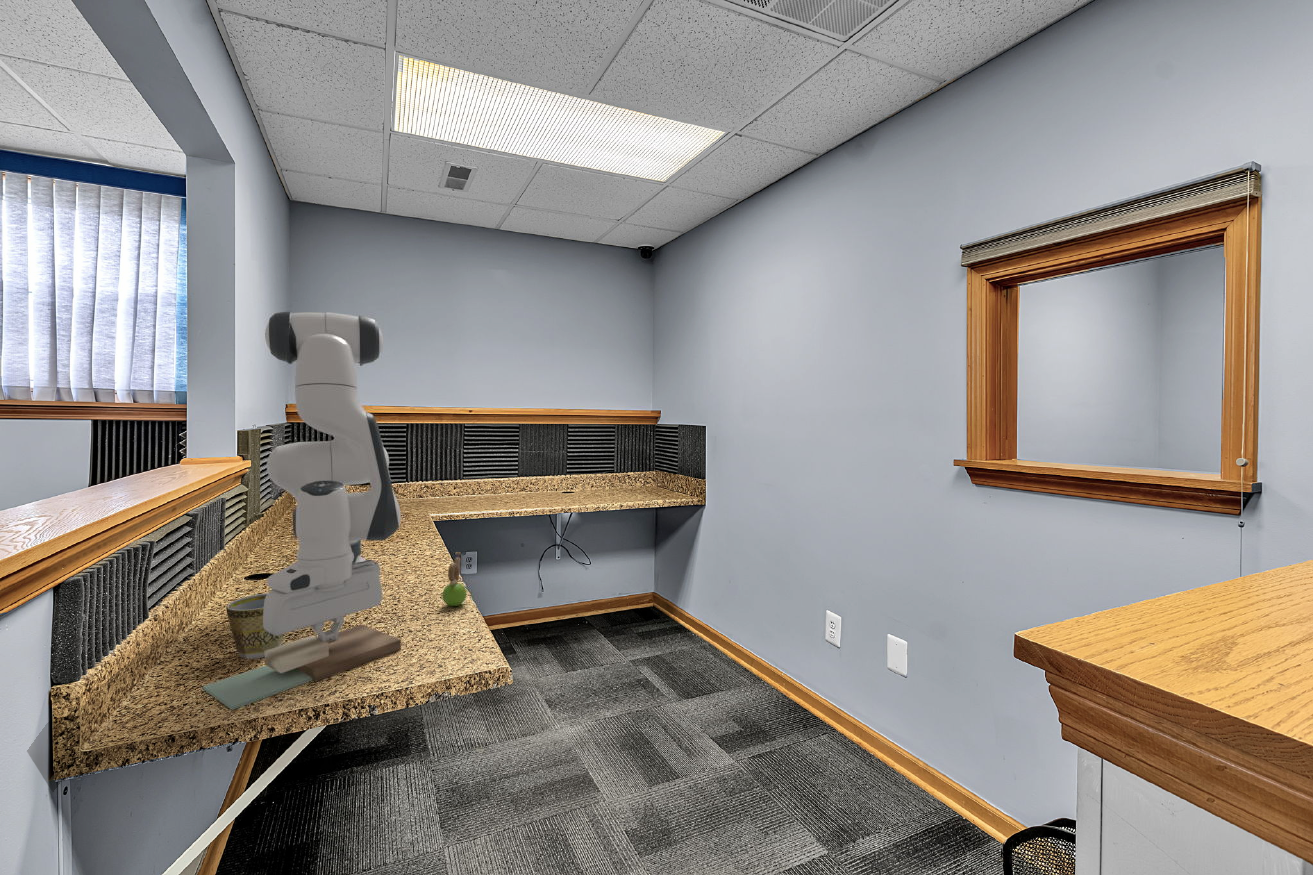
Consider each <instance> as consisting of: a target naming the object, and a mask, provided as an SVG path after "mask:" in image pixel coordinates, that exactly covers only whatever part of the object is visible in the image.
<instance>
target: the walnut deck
mask: <svg viewBox="0 0 1313 875" xmlns="http://www.w3.org/2000/svg"><path fill="white" fill-rule="evenodd" d="M328 649H329V656H328V657H325V658H323V659H320V660H317V661H314V662H311V663H309V664H306V665H303V666H300V667H297V668H296V669H297V670H299V671H301V672H303V673H305V674H307V675H309V676H310V677H312V681H313V682H318V681H321V680H323V679H326V678H329V677H331V676H334V675H337V674H340V673H342V672H345V671H348V670H351V669H354V668H355V667H358V666H361V665H363V664H367V663H369V662H372V661H375V660H377V659H380V658H382V657H385V656H388V655H391V654H393V653H395V652H398V651H401V650H402V639H401V638H398V637H396V636H393V635H389V634H387V633H385V632H383V631H379V630H377V629H374V628H373V627H370V626H367V625H366V624H360V625H356V626H353V627H350V628H347V629H345V630H339V632H338V641H335V642H332V643H328Z"/></svg>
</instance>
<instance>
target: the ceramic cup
mask: <svg viewBox="0 0 1313 875" xmlns="http://www.w3.org/2000/svg"><path fill="white" fill-rule="evenodd" d="M267 594H268V592H267V593H261V594H260V593H259V594H253V595H249V596H245V597H241V598H238V599H236V600H233V601H231V602H229V603H228V604H227V605H226V606H225V610H226V613H227V614H226V616H227V618H228V619H227V620H228V622H229V626H230V629H231V632H232V635H233V636H232V637H233V639H234V643H235V647H236V650H237V653H238V656H239V657H240V658H243V659H245V660H253V659H254V660H255V659H262V658H265V654H264V651H266V650H269V649H272V648H275V647H278V646H281V645H283V638H284V634H282V635H278V636H275V635H272V634H270V633H268V632H267V631H266V630H265V629H264V627H263V608H264V601H265V597H266V595H267Z"/></svg>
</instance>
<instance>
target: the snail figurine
mask: <svg viewBox="0 0 1313 875" xmlns="http://www.w3.org/2000/svg"><path fill="white" fill-rule="evenodd" d="M461 554H462V553H461V552H458V551H456V552H455V555H456V557H455V559H454V562H451V563H450V565H449V566H448V570H447V575H448V576H447V577H448V580H449V581H450V582H449V584H447V585H446V586H445V587H444V589H443V591H442V595H441V596H442V600H443V602H444V603H445V604H446V605H447V606H449V607H457V606H460V605H462V604H463V603H464V602H465V600H466V598H467V589H466V587H465V586H464V585H463V584H462V583H461V582H460V583H459V582H458V581H459V579H460V573H461V558H460V557H461V556H460V555H461Z"/></svg>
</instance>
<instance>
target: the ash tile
mask: <svg viewBox="0 0 1313 875" xmlns="http://www.w3.org/2000/svg"><path fill="white" fill-rule="evenodd" d="M264 654H265V657H264V666H268V667H270V668H272V669H274V670H276V671H277V672H279V673H284V672H286V671H289V670H292V669H295V668H297V667H300V666H303V665H306V664H309V663H311V662H314V661H317V660H320V659H323V658H325V657H328V656H329V649H328V643H327V642H325V641H323V640H321V639H318V637H316V636H313V635H310V636H307V637H303V638H300V639H297V640H294V641H291V642H288V643H285V644H281V646H278V647H275V648H272V649H269V650H266V651H264Z"/></svg>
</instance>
